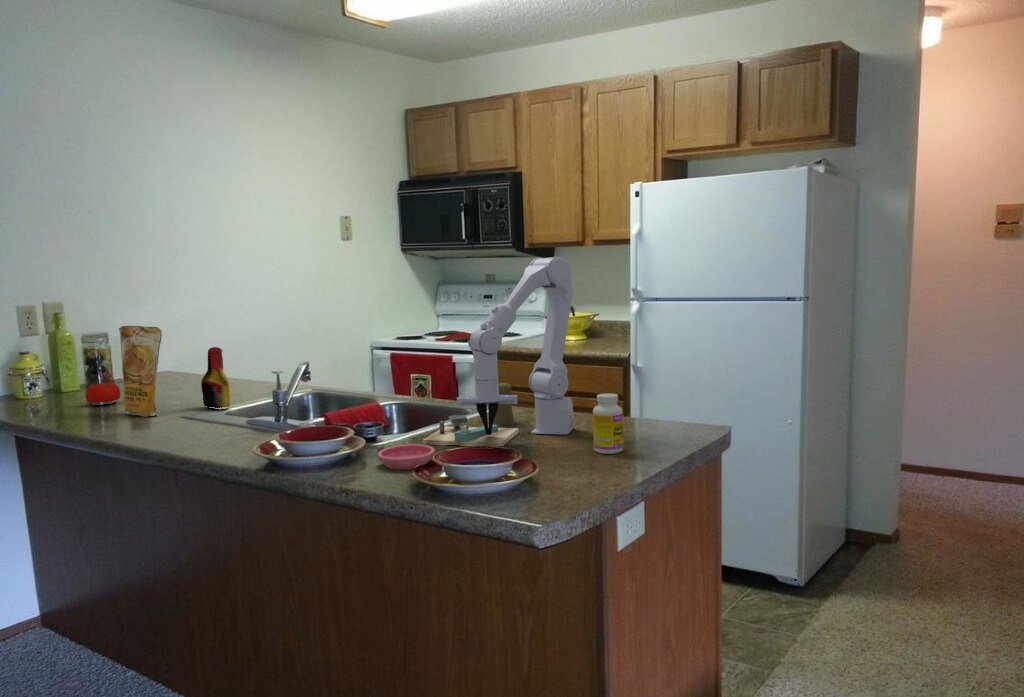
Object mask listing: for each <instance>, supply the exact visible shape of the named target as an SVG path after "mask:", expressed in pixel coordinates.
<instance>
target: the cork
mask: <svg viewBox="0 0 1024 697" xmlns="http://www.w3.org/2000/svg"><path fill="white" fill-rule="evenodd" d="M498 387H499V395H512V394H511V393H512V386H511V384H510V383H507V382H498ZM498 406H499V408H498V411H497V413H496V416H495V419H494V422H493V425H498V427H501V426H502V427H503V426H511V425H514V424H515V419H514V413H513V407H512V404H498Z"/></svg>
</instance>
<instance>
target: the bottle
mask: <svg viewBox="0 0 1024 697" xmlns="http://www.w3.org/2000/svg"><path fill="white" fill-rule="evenodd" d="M200 384H201V385H200V386H201V393H202V398H203V399H202V402H203V406H204V407H205V406H207V407H215V408H220V407H221V408H222V407H229V406H230V407H231V384H230V380H229V379H228V377H227V375H226V374H225V372H224V359H223V348H220V347H218V346H214V347H213V346H212V347H210V348H208V350H207V371H206V372H205V374H204V376H202V379H201V382H200ZM230 407H229V408H230Z"/></svg>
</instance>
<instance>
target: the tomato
mask: <svg viewBox="0 0 1024 697" xmlns="http://www.w3.org/2000/svg"><path fill="white" fill-rule="evenodd" d="M119 398H120V399H121V390H120V387H119V386H118V385H117V384H116V383H115V382H112V381H108V382H99V383H97V384H90V385H89V386H88V387H87V388H86V390H85V399H86V401H87V403H88V402H93V403H94V402H95V403H98V402H108V401H113V400H117V399H119ZM120 399H119V400H120Z"/></svg>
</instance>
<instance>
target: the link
mask: <svg viewBox="0 0 1024 697" xmlns="http://www.w3.org/2000/svg"><path fill="white" fill-rule="evenodd" d="M488 428H489V423H488ZM498 428H499V426H498V425H493V426H492V432H495V431H498ZM468 431H469V432H468V433H463V430H461V431H458V432H455V440H460V441H470V440H473V439H476V438H477V437H480V436H483V435H486V432H485V428H484V425H481V426H478V428H475V429H472V430H468Z"/></svg>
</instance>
